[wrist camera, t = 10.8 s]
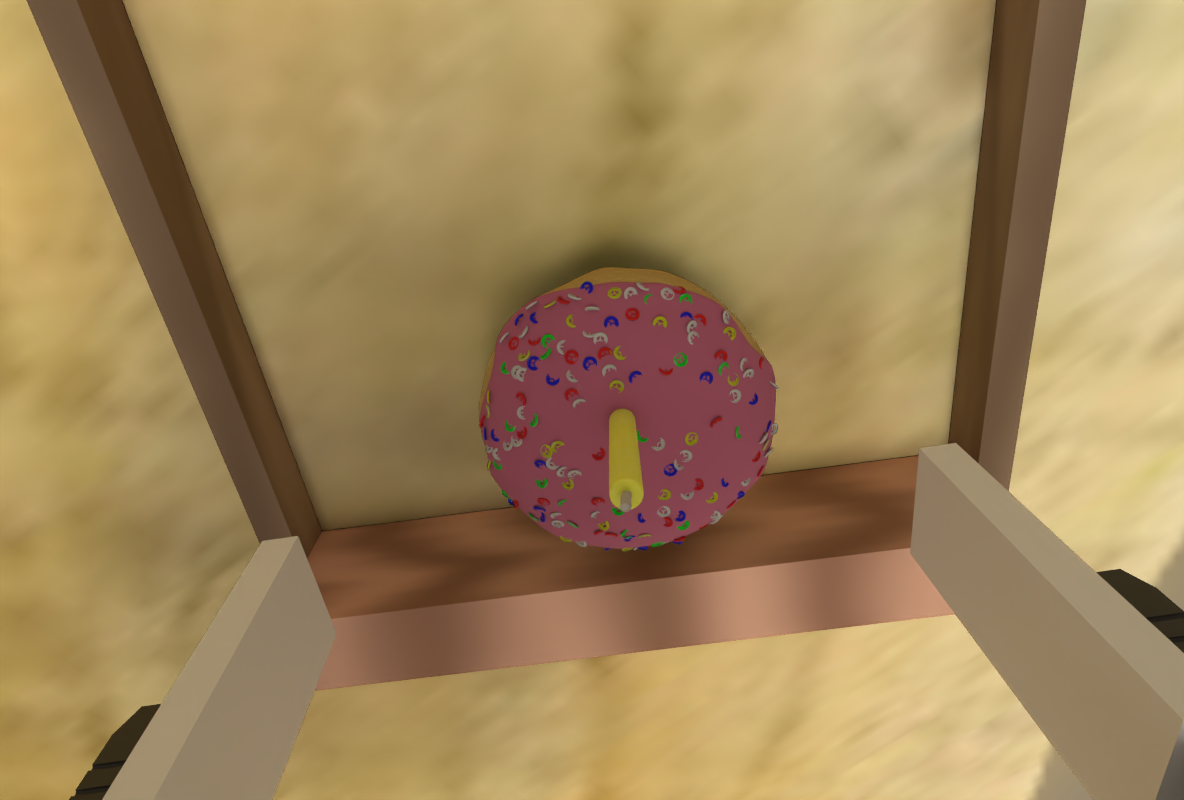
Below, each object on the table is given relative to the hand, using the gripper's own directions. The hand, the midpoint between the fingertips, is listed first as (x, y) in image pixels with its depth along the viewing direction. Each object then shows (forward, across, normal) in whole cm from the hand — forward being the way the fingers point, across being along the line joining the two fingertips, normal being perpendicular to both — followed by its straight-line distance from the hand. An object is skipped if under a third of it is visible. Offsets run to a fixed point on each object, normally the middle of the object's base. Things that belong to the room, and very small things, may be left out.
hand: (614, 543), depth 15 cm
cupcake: (+10, -1, 0) cm, 10 cm away
